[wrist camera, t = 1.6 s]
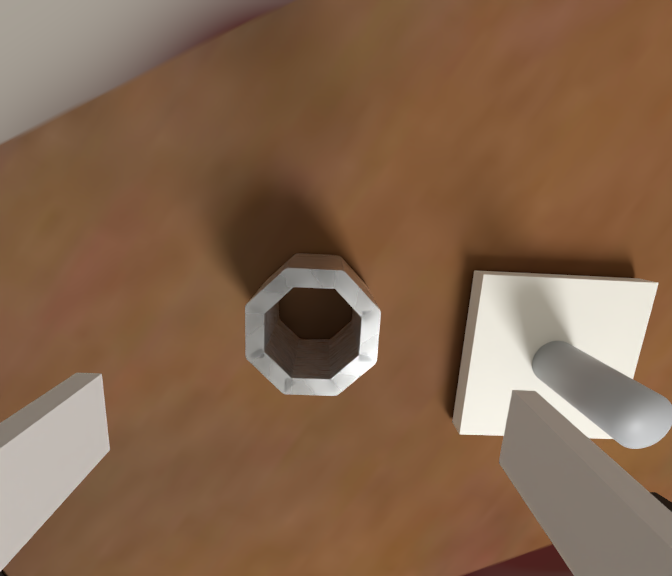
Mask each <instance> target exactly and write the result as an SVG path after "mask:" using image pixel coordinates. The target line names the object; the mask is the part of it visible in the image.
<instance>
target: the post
mask: <svg viewBox="0 0 672 576" xmlns="http://www.w3.org/2000/svg"><path fill="white" fill-rule="evenodd" d="M657 287H658V283H657V282H652V281H648V280H644V279H639V278H619V277H599V276H578V275H558V274H537V273H517V272H496V271H476V270H474V276H473V283H472V289H471V296H470V303H469V310H468V317H467V324H466V331H465V338H464V345H463V352H462V359H461V366H460V372H459V379H458V386H457V393H456V400H455V407H454V414H453V421H452V422H453V424H454V426H455V427H456V429H457V431H458V433H459V434H467V435H500V436H504V432H505V427H506V421H507V416H508V411H509V405H510V400H511V394H512V390H527V391H536V392H537V393H538V394H539V395H541V396H542V397H543V398H544V399H545V400H546V401H547V402H548V403H550V404H551V405H552V406H553V407H554V408H555V409H556V410H557V411H559V412H560V413H561V414H562V415H563V416H564V417H565V418H566V419H568V420H569V421H570V422H571V423H572V424H573V425H574V426H575V427H577V428H578V429H579V430H580V431H581V432H582V433H583V434H584V435H586V436H587V437H588V438H601V439H614V440H616V441H617V442H618V443H619V444H621V445H622V446H624V447H627V448H633V449H639V448H645V447H648V446H651V445H653V444H655V443H656V442H658V441H659V440H661V439H662V438H663V437H664V436H665V435H666V434H667V432H668V431H669V429H670V427H671V425H672V405H671V403H670V402H669V401H668V400H667V399H666V398H665V397H663V396H662V395H660V394H658V393H656V392H654V391H653V390H651V389H649V388H647V387H646V386H644V385H642V384H640V383H638V382H637V381H635V380H633V377H634V373H635V369H636V365H637V362H638V358H639V354H640V350H641V347H642V343H643V339H644V335H645V332H646V328H647V324H648V320H649V317H650V313H651V309H652V305H653V302H654V298H655V294H656V290H657Z"/></svg>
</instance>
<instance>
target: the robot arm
mask: <svg viewBox="0 0 672 576" xmlns="http://www.w3.org/2000/svg"><path fill="white" fill-rule="evenodd" d="M109 450H110V447H109V438H108V428H107V419H106V410H105V400H104V391H103V381H102V374H96V373H76V374H74V375H73V376H71V377H70V378H68V379H66V380H65V381H63V382H62V383H60V384H59V385H57V386H56V387H54V388H53V389H51V390H50V391H48V392H47V393H45V394H44V395H42V396H41V397H39V398H38V399H36V400H35V401H33V402H32V403H30V404H29V405H27V406H26V407H24V408H23V409H21V410H19V411H18V412H16V413H15V414H13V415H12V416H10V417H9V418H7V419H6V420H4V421H3V422H1V423H0V576H4V575H3V574H2V573H1V570H2V569H3V568H4V567H5V566H6V565H7V564H8V563H9V562H10V560H11V559H12V558H13V557H14V556H15V555H16V554H17V553H18V552H19V550H20V549H21V548H22V547H23V546H24V545H25V544H26V543H27V542H28V540H29V539H30V538H31V537H32V536H33V535H34V534H35V533H36V532H37V530H38V529H39V528H40V527H41V526H42V525H43V524H44V523H45V521H46V520H47V519H48V518H49V517H50V516H51V515H52V514H53V513H54V511H55V510H56V509H57V508H58V507H59V506H60V505H61V504H62V503H63V501H64V500H65V499H66V498H67V497H68V496H69V495H70V494H71V493H72V491H73V490H74V489H75V488H76V487H77V486H78V485H79V484H80V483H81V481H82V480H83V479H84V478H85V477H86V476H87V475H88V474H89V473H90V471H91V470H92V469H93V468H94V467H95V466H96V465H97V464H98V463H99V461H100V460H101V459H102V458H103V457H104V456H105V455H106V454H107V453H108V451H109ZM499 464H500V465H501V467H502V468H503V470H504V471H505V473H506V474H507V476H508V477H509V479H510V480H511V482H512V483H513V485H514V486H515V488H516V489H517V491H518V492H519V494H520V495H521V497H522V498H523V500H524V501H525V503H526V504H527V506H528V507H529V509H530V510H531V512H532V513H533V515H534V516H535V518H536V519H537V521H538V522H539V524H540V525H541V527H542V528H543V530H544V531H545V533H546V534H547V536H548V537H549V539H550V540H551V542H552V543H553V545H554V546H555V548H556V549H557V551H558V552H559V554H560V555H561V557H562V558H563V560H564V561H565V562H566V564H567V566H568V567H569V569H570V570H571V572H572V573H573V575H574V576H672V502H670V501H668V500H667V499H665V498H664V497H662V496H660V495H659V494H657V493H655V492H649V491H647V490H646V489H645V488H644V487H643V486H642V485H641V484H640V483H638V482H637V481H636V480H635V479H634V478H633V477H632V476H631V475H629V474H628V473H627V472H626V471H625V470H624V469H623V468H622V467H620V466H619V465H618V464H617V463H616V462H615V461H614V460H613V459H611V458H610V457H609V456H608V455H607V454H606V453H605V452H604V451H602V450H601V449H600V448H599V447H598V446H597V445H596V444H595V443H593V442H592V441H591V440H590V439H589V438H588V437H587V436H586V435H584V434H583V433H582V432H581V431H580V430H579V429H578V428H577V427H575V426H574V425H573V424H572V423H571V422H570V421H569V420H568V419H566V418H565V417H564V416H563V415H562V414H561V413H560V412H559V411H557V410H556V409H555V408H554V407H553V406H552V405H551V404H550V403H548V402H547V401H546V400H545V399H544V398H543V397H542V396H541V395H539V394H538V393H537V392H536V391H527V390H512V394H511V400H510V405H509V411H508V416H507V421H506V427H505V432H504V437H503V443H502V448H501V453H500V459H499Z"/></svg>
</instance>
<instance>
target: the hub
mask: <svg viewBox="0 0 672 576" xmlns="http://www.w3.org/2000/svg"><path fill="white" fill-rule="evenodd" d="M293 287H304V288H325V289H336V291H337V292H338V293H339V294H340V295H341V296H342V297H343V298H344V299H345V300H346V301H347V302H348V303H349V305H350V306H351V307H352V318H351V321H350V322H349V323H348V324H347V325H346V326H345V327H343V328H342V329H341V330H340V331H339V332H338V333H336V334H335V335H334V336H333V337H332V338H331V339H329V340H323V339H299V338H298V337H297V336H296V335H295V334H294V333H293V332H292V331H291V330H290V329H289V328H288V326H287V325H286V324H285V323H284V322H283V321H282V320H281V319H280V318H279V300H280V299H281V298H282V297H283V296H285V295H286V294H287V293H288V292H289V291H290V290H291V289H292V288H293ZM380 317H381V311H380V309H379V307H378V305H377V303H376V301H375V299H374V298H373V296H372V294H371V292H370V290H369V288H368V286H367V285H366V284H365V283H364V282H363V281H362V279H361V278H360V277H359V276H358V275H357V274H356V273H355V272H354V271H353V270H352V268H351V267H350V266H349V265H348V264H347V263H346V262H345V261H344V260H343V258H342V257H341V256H339V255H325V254H305V253H296V254H295V255H293V256H292V257H291V258H290V259H289V260H288V261H287V262H286V263H285V264H284V265H283V266H281V267H280V268H279V269H278V270H277V271H276V272H275V273H274V274H273V275H272V276H271V277H269V278H268V279H267V280H266V281H265V282H264V283H263V285H262V286H261V287H260V288H259V290H258V291H257V292H256V293H255V294H254V296H253V297H252V298H251V299H250V300H249V302H248V303H247V304H246V306H245V334H246V357H247V358H246V359H247V360H248V361H249V362H250V363H252V364H253V365H254V366H255V367H256V368H257V369H258V370H259V371H260V372H261V373H262V374H263V375H264V376H265V377H266V378H267V379H268V380H269V381H270V382H271V383H273V384H274V385H275V386H276V387H277V388H278V389H279V390H280V391H281V392H282V393H284V394H296V395H325V396H336V395H338V394H339V393H341V392H342V391H343V390H344V389H345V388H347V387H348V386H349V385H350V384H351V383H353V382H354V381H355V380H356V379H358V378H359V377H360V376H361V375H362V374H364V373H365V372H366V371H367V370H368V369H370V368H371V367H372V366H373V365H374V364H376V362H377V352H378V340H379V328H380Z"/></svg>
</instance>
